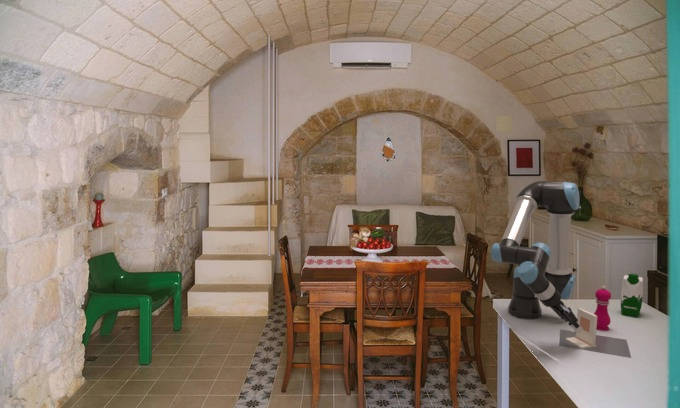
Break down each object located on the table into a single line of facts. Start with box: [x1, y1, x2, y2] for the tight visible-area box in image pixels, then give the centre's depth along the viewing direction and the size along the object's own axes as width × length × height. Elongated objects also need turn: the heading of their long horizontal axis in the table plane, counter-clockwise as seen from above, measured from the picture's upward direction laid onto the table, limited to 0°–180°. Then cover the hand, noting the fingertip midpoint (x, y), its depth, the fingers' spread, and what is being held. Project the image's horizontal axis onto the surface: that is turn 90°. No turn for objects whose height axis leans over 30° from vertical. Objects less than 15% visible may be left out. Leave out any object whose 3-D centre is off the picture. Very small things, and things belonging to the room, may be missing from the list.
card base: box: [565, 337, 596, 350], centre depth 196 cm, size 7×9×1 cm
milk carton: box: [620, 273, 645, 319], centre depth 231 cm, size 9×9×20 cm
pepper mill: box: [593, 285, 612, 331], centre depth 211 cm, size 7×7×20 cm
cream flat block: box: [576, 307, 597, 345], centre depth 195 cm, size 2×9×12 cm, turn 14°
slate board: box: [558, 328, 632, 359], centre depth 197 cm, size 19×25×1 cm
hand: (580, 330), depth 194 cm, fingers closed
